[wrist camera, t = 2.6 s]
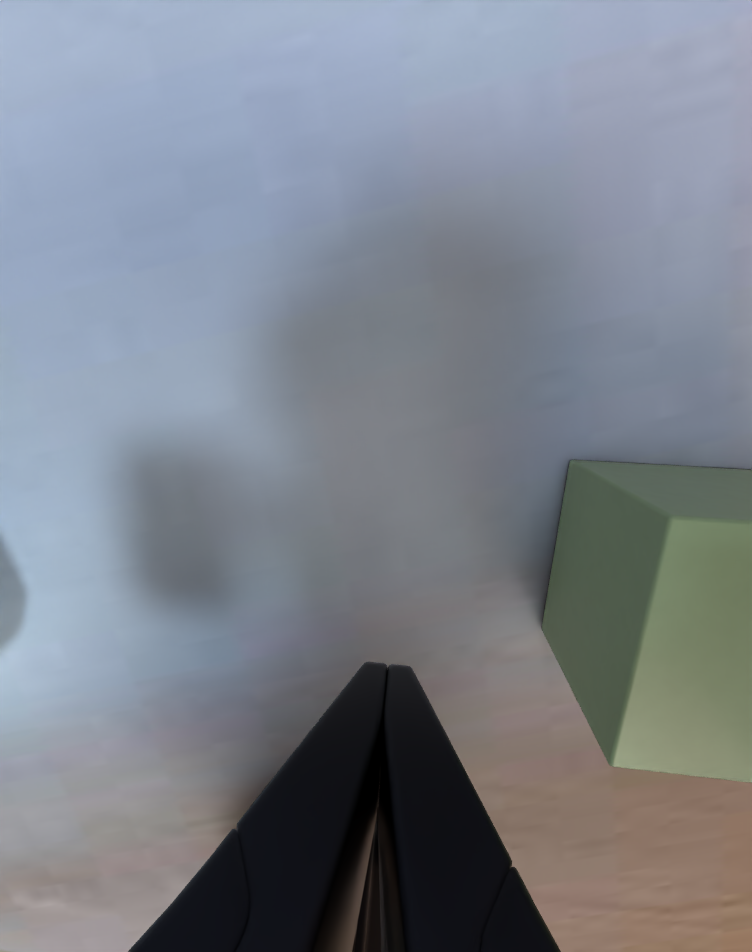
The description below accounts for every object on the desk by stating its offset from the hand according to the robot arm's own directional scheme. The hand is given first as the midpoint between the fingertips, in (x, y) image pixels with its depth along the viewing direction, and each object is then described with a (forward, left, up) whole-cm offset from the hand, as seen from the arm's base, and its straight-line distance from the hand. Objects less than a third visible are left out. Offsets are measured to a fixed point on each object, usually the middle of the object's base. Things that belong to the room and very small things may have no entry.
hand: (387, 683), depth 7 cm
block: (0, -8, -6) cm, 10 cm away
